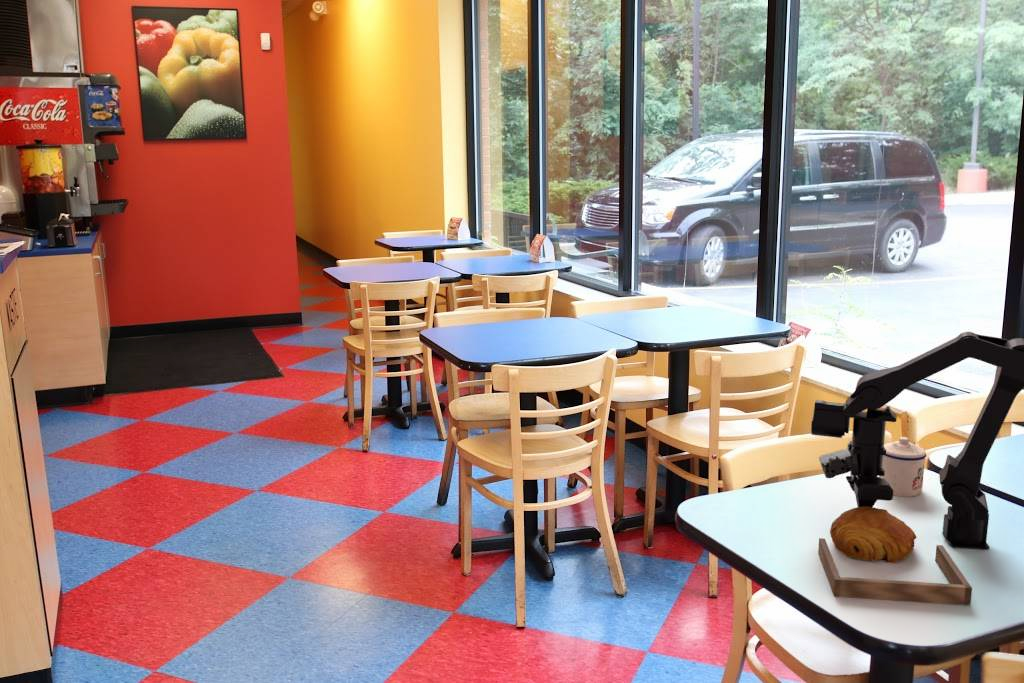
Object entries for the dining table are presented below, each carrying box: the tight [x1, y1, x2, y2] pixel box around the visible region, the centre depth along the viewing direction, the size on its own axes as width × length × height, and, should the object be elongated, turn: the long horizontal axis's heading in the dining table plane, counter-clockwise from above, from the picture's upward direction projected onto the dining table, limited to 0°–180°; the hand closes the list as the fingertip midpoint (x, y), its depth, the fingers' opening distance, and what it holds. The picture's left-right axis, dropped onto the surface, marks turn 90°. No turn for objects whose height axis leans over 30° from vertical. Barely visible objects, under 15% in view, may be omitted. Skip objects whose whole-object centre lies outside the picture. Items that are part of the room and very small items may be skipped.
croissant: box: [829, 506, 918, 564], centre depth 164 cm, size 14×16×8 cm
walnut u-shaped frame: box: [817, 537, 973, 606], centre depth 153 cm, size 21×16×3 cm
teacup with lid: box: [878, 436, 927, 498], centre depth 192 cm, size 12×9×12 cm
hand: (862, 517), depth 173 cm, fingers closed
